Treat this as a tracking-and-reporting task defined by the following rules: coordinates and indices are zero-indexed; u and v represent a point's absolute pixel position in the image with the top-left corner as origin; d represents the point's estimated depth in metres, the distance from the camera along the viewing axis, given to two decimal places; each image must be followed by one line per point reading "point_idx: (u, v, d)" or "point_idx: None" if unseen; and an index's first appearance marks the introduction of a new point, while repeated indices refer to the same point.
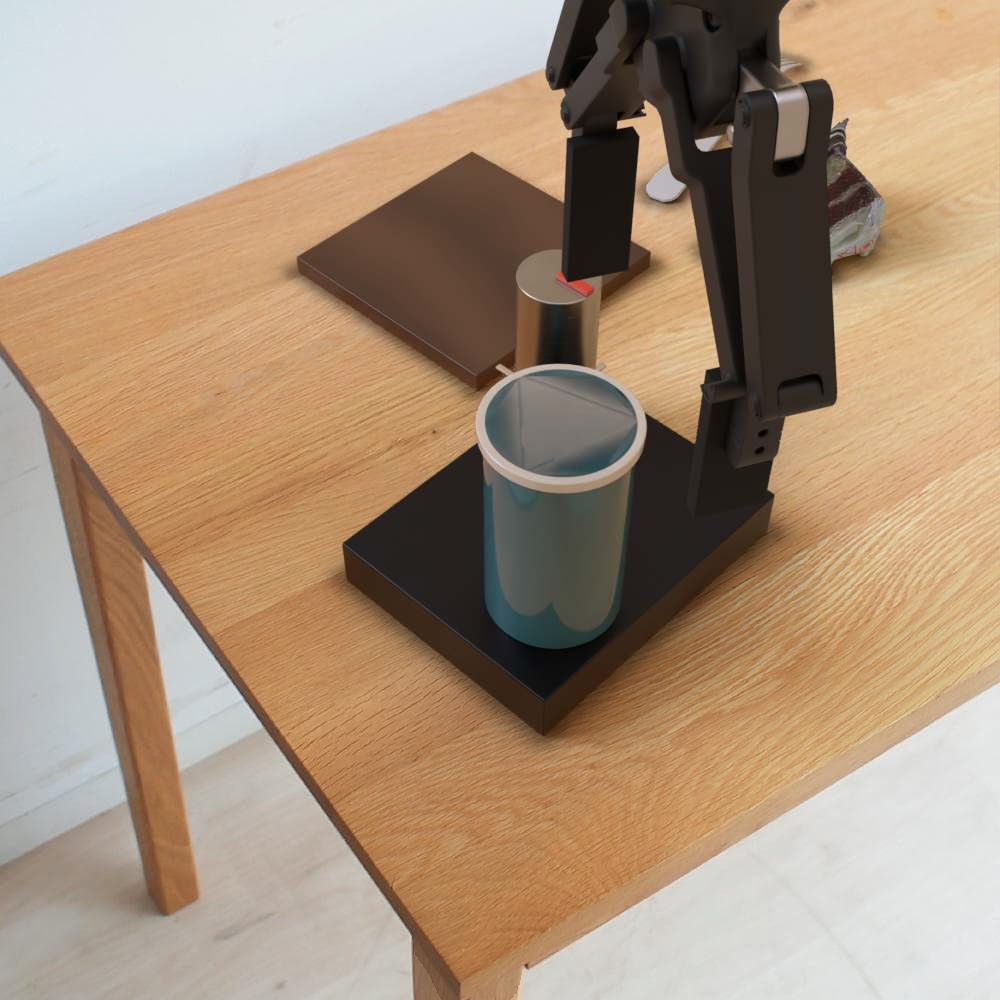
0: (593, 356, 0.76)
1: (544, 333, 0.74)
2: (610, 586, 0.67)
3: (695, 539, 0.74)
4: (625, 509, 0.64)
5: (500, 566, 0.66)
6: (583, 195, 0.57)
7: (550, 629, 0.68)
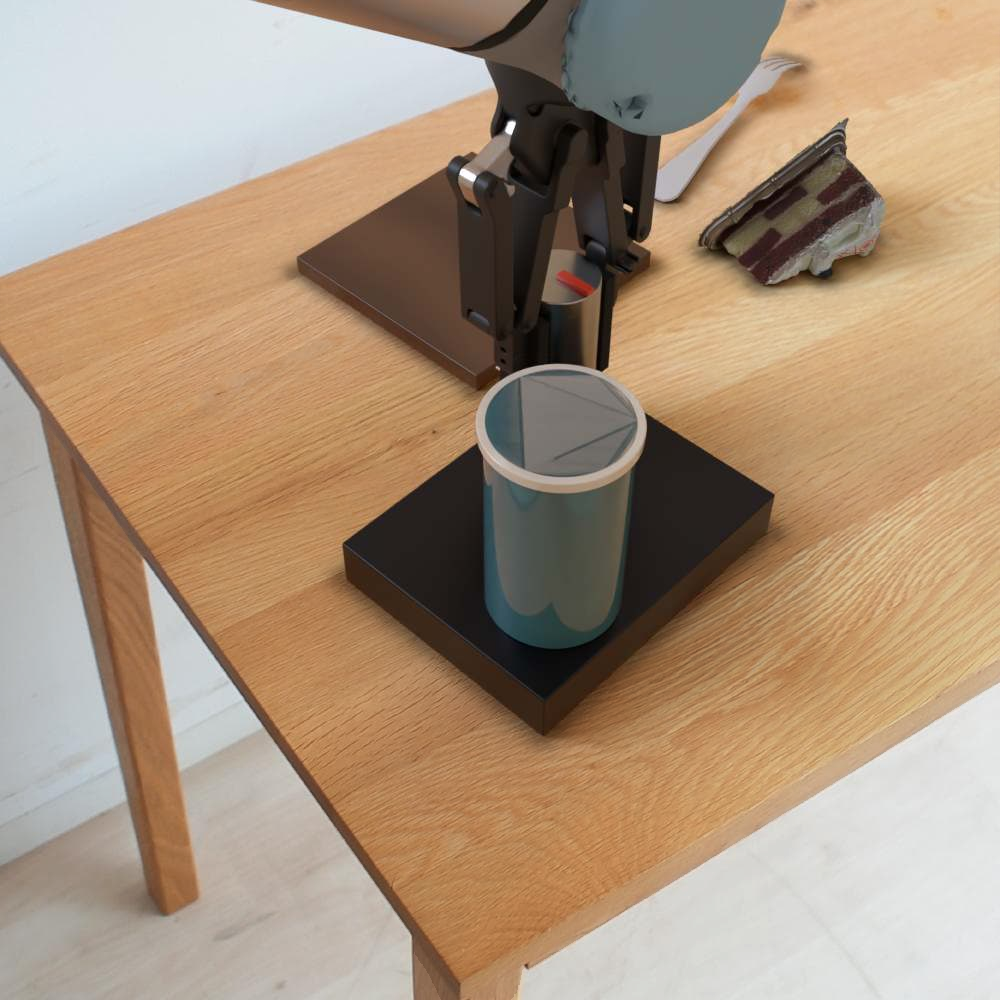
0: (593, 356, 0.76)
1: None
2: (610, 586, 0.67)
3: (695, 539, 0.74)
4: (625, 509, 0.64)
5: (500, 566, 0.66)
6: None
7: (550, 629, 0.68)
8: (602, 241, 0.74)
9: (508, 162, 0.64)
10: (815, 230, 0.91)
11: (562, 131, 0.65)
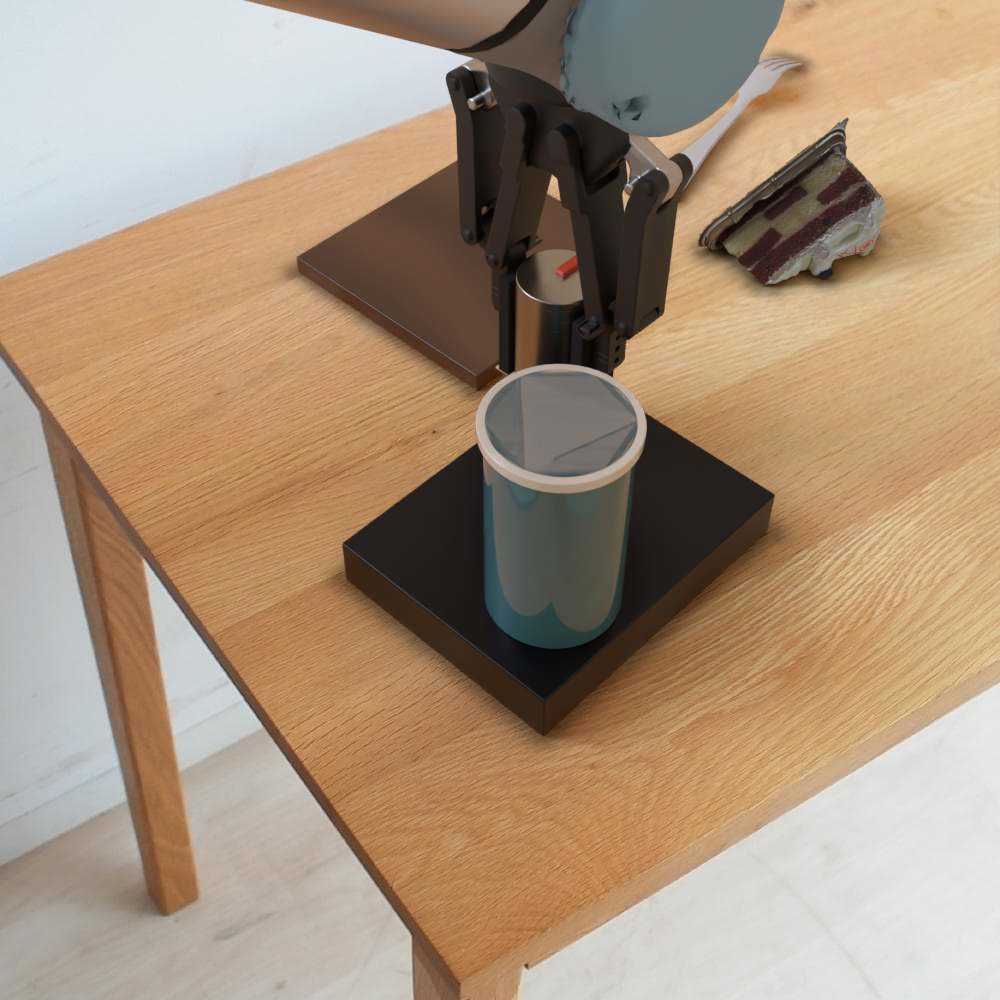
0: None
1: None
2: (610, 586, 0.67)
3: (695, 539, 0.74)
4: (625, 509, 0.64)
5: (500, 566, 0.66)
6: None
7: (550, 629, 0.68)
8: (530, 232, 0.74)
9: None
10: (815, 230, 0.91)
11: None
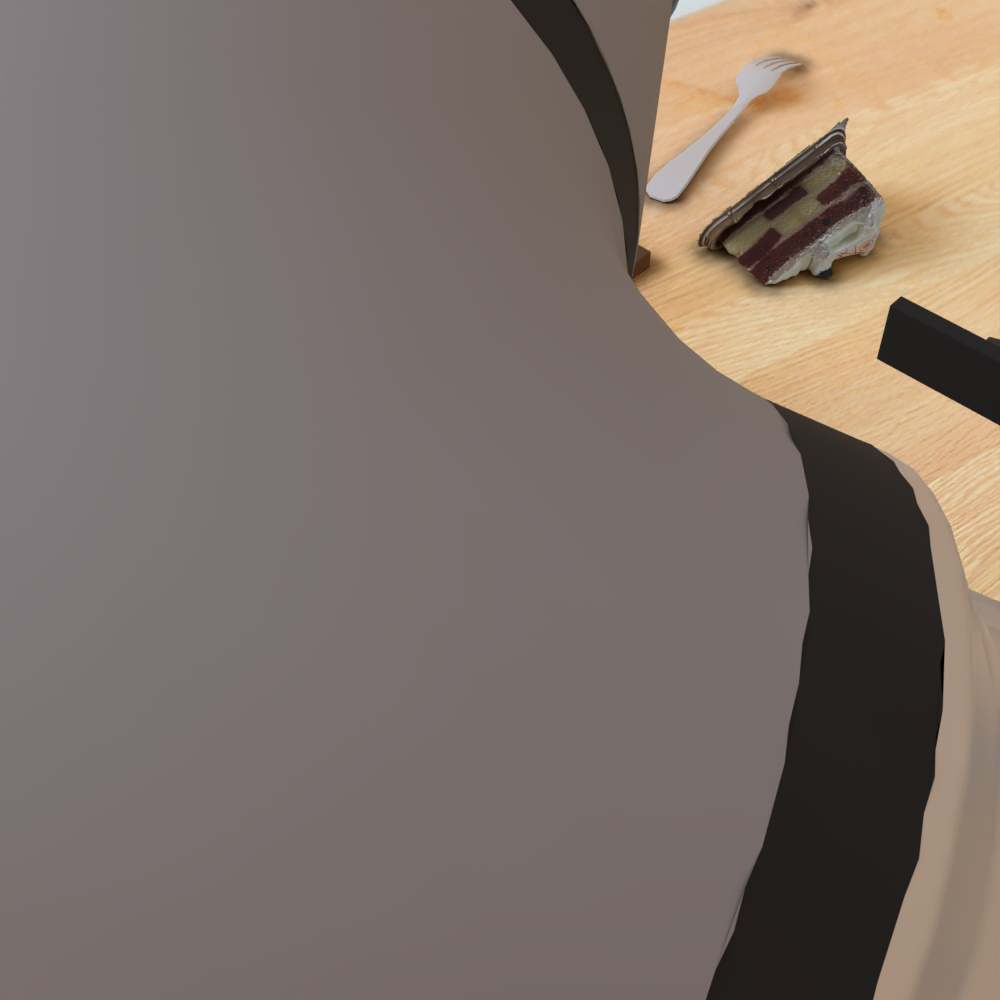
0: None
1: None
2: None
3: None
4: None
5: None
6: (986, 368, 0.53)
7: None
8: None
9: None
10: (815, 230, 0.91)
11: None
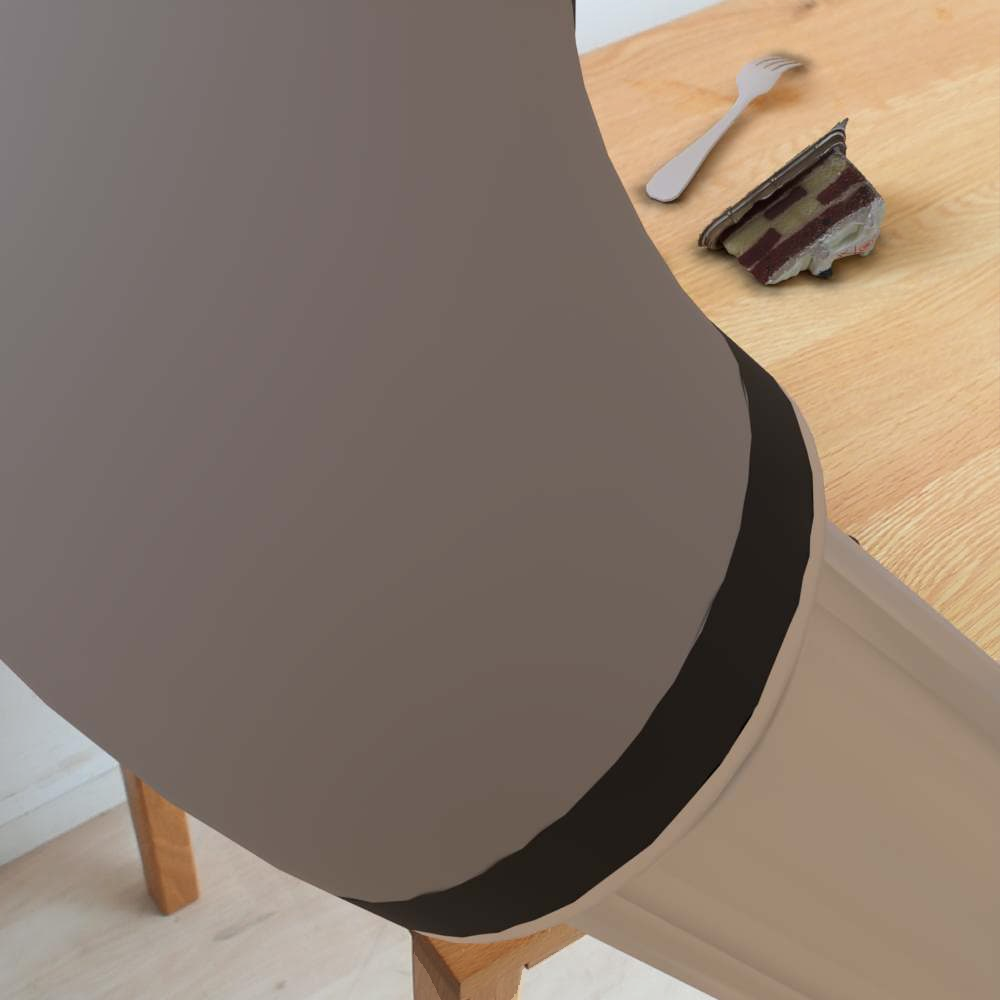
0: None
1: None
2: None
3: None
4: None
5: None
6: None
7: None
8: None
9: None
10: (815, 230, 0.91)
11: None
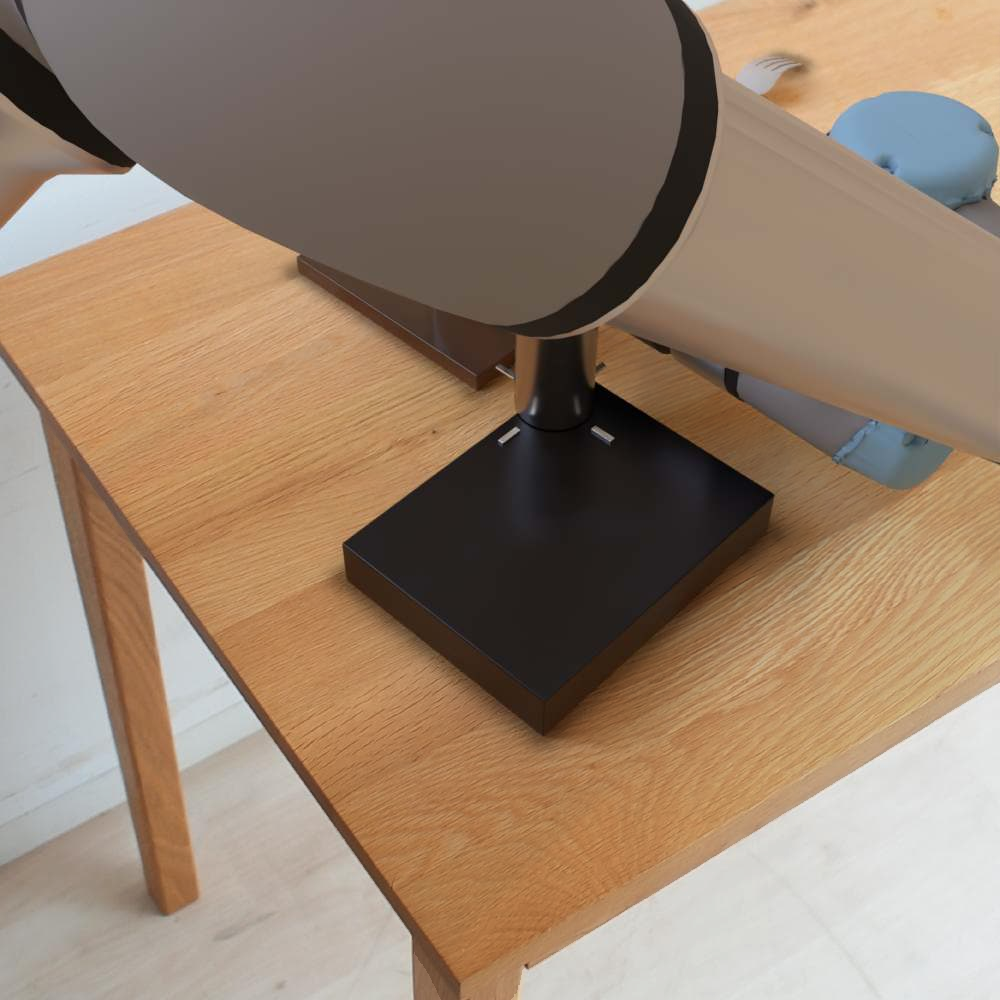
0: None
1: None
2: None
3: (695, 539, 0.74)
4: None
5: None
6: None
7: None
8: None
9: None
10: None
11: None
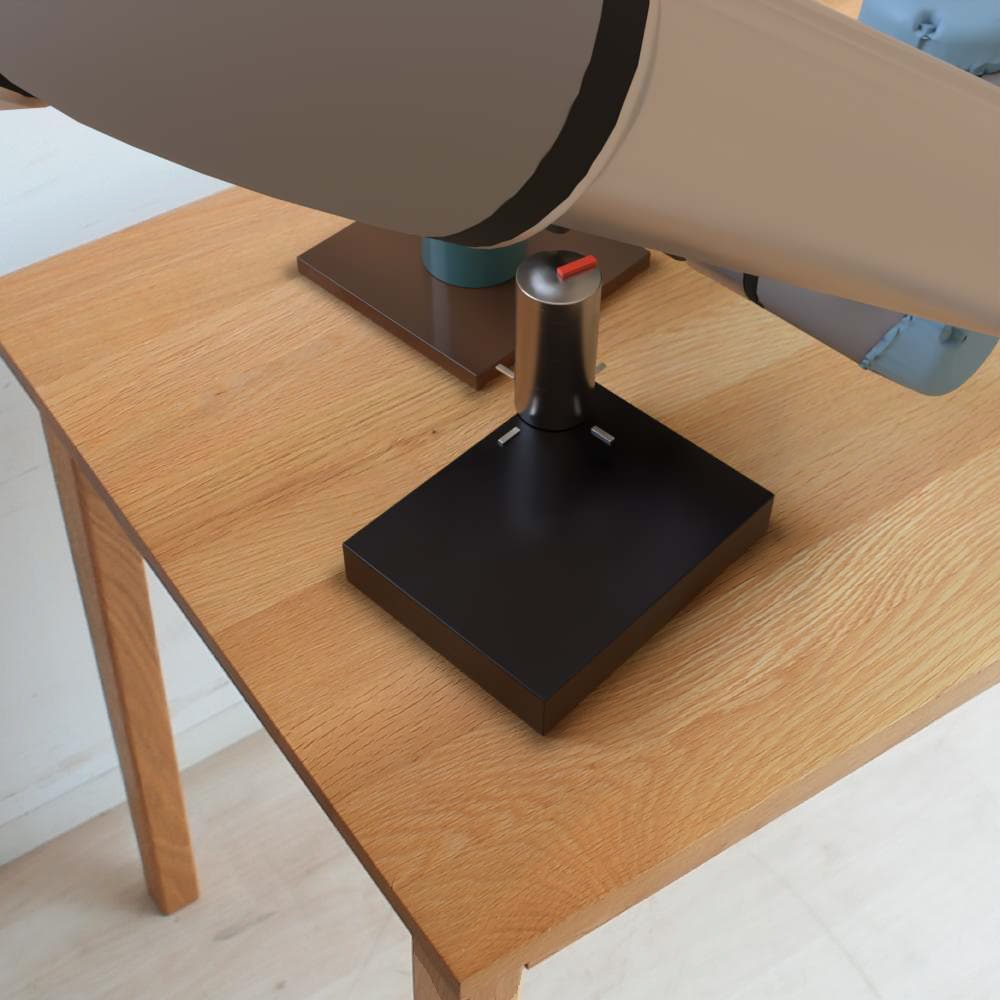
0: None
1: (593, 323, 0.74)
2: None
3: (695, 539, 0.74)
4: None
5: None
6: None
7: (469, 268, 0.88)
8: None
9: None
10: None
11: None
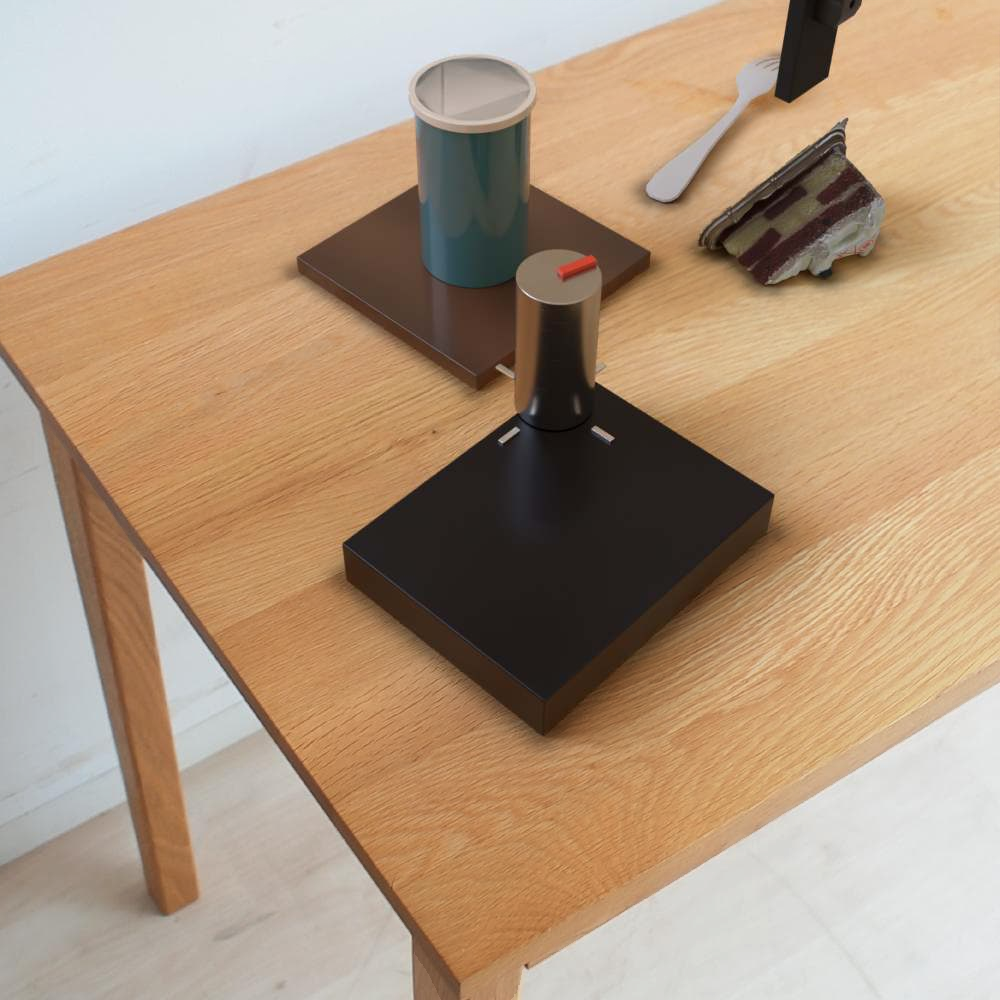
0: None
1: (593, 323, 0.74)
2: (515, 233, 0.88)
3: (695, 539, 0.74)
4: (522, 161, 0.85)
5: (430, 213, 0.87)
6: None
7: (469, 268, 0.88)
8: None
9: None
10: (815, 230, 0.91)
11: None
